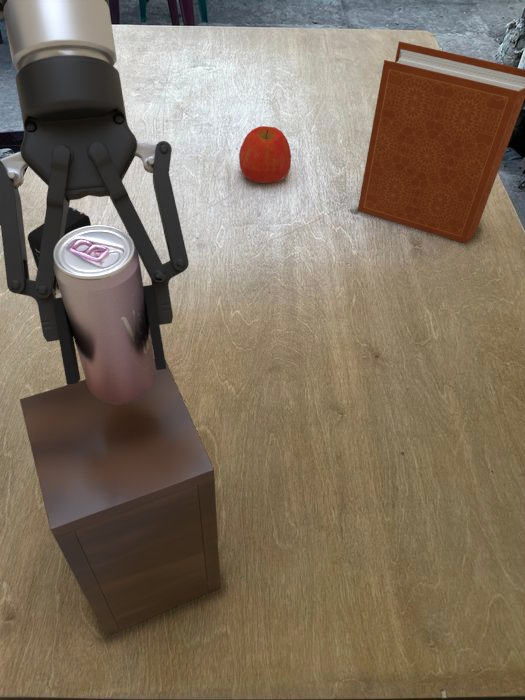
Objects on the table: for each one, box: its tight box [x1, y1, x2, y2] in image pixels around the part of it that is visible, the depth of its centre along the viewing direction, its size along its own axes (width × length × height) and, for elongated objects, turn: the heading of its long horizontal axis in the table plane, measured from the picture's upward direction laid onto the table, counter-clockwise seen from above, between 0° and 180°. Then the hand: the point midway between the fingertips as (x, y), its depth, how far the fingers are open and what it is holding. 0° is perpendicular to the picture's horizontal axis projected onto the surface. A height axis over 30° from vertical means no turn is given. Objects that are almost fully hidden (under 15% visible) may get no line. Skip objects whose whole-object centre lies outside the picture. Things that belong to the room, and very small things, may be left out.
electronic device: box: [27, 206, 92, 288], centre depth 107 cm, size 4×10×10 cm, turn 145°
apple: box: [238, 125, 292, 184], centre depth 128 cm, size 11×11×11 cm
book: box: [357, 40, 525, 244], centre depth 113 cm, size 23×8×30 cm, turn 65°
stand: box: [19, 359, 221, 637], centre depth 66 cm, size 14×14×28 cm
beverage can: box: [53, 224, 156, 404], centre depth 49 cm, size 6×6×15 cm
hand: (117, 374), depth 49 cm, fingers closed on beverage can, 6 cm apart
